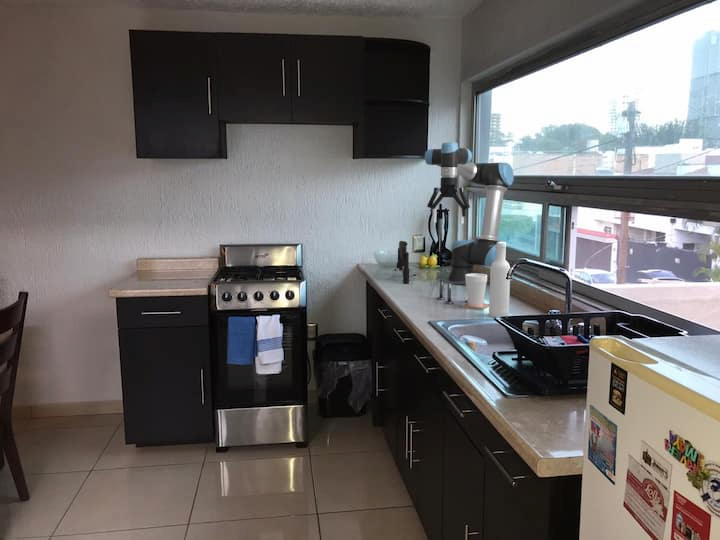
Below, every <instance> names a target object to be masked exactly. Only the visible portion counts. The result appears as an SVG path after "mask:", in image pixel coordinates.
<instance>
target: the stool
mask: <svg viewBox="0 0 720 540" xmlns="http://www.w3.org/2000/svg"><path fill="white" fill-rule="evenodd" d="M408 245H409V244H408V242H407V241H405V240H404V241H403V240H400V241H398V248H397V262H396V268H394V270H392V275H391V276H390V277H389V278H388V279H387V280H388V281H391V282H392V281H396V282H398V281H402V284H404V285H408V284H410V282H413V281H418V280H417V274H416V273H414V266H409V263H410V262H409V259H410V258H409V257H410V254H409V252H408V251H407V249H408V248H407V246H408Z"/></svg>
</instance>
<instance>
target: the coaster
mask: <svg viewBox="0 0 720 540" xmlns="http://www.w3.org/2000/svg"><path fill="white" fill-rule="evenodd" d="M461 308H462V309H471V310H480V311H483V310H485V309H487V308H489V303H484V302H483V305H482V306H470V305H468V303H464V304H461Z"/></svg>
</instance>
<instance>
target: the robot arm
mask: <svg viewBox="0 0 720 540" xmlns="http://www.w3.org/2000/svg"><path fill="white" fill-rule="evenodd" d="M472 159H473V153H472V152H471V150H470V149H468V148H465V147H459V145H458V142H453V141H451V142H449V141H448V142H443V143H441V148H432V149H430V148H429V149H428V150H426V151H425V153H424V161H425V164H426V165H428V166H434V165H435V166H437V167H440V187H434V188H433V193H432V194H431V197H430V199H429V201H428V203H427V205H426V207H427V208H430V215H431V216H432V222H431V223H433V224H435V223H436V224H437V213H438V212H437V210H438V209H437V208H436V207H437V206H438V205H439V204H440V202H441V201H442V200H443V199H445V198H453V199H454V200H455V202H456V203H457V205H458V206H459V207H460V208H461V209H460V210H459V225H463V224H464V223H465V222H464V221H465V219H464V218H465V217H466V215H467V209H470V208H471V205H470V203H469V201H468V199H467V196H466V194H465V191H464V187H458V177H457V176H460V177H461V178H462V179H463V180H465V181H467V182H469V183H472V184H475V185H478V186H484V188H485V190H486V199H485V205H484V211H483V218H482V224H481V226H482V227H481V231H480V236H479V237H478V238H477V240H476V241H475V239H463V240H455V241H453V243H452V246H451V270H450V273H449V276H448V279H447V281H449V282H459V281H465V275H466V274H472V273H476V271H475V266H474V265H476V266H483V267H484V266H485V267H491V265H492V263H493V262H494V261H495V260H496V250H497V247H496V245H497V242H501V240H499V229H500V224H501V215H502V207H503V203H504V194H505V192H507V191H508V190H509V189H508V188H509V187H510V186H512V185H513V183H514V180H515V179H514V178H515V176H514V170H513V167H512V165H511V164H510V163H509V162H501V161H500V162H479V163H478V162H477V163H476V162H475V163H474V162H472ZM439 192H440V194H439V195H438V193H439ZM457 193H459V195H460V197H459V195H458V194H457ZM437 196H438V197H437ZM460 198H461V199H460ZM435 199H436V200H435ZM454 285H455V286H456V285H458V286H466V284H454Z"/></svg>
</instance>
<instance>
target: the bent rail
mask: <svg viewBox="0 0 720 540" xmlns="http://www.w3.org/2000/svg"><path fill="white" fill-rule="evenodd" d="M444 283H445V284H447V291H446V293H447V297H444ZM455 284H466V281H459V282H449V281H448V279H445V278H440V279H439V286H438V287H439V291H438V295H439V296H437V297H436V300H439V301H441V300H442V301H443V300H444V304H445V305H453V304H454V303H455V302H454V301H452V285H455ZM446 298H447V299H446ZM464 302H465V303H464V304H466V303H468V299H466V300H465V301H464Z"/></svg>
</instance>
